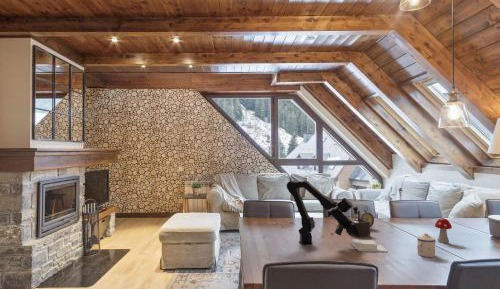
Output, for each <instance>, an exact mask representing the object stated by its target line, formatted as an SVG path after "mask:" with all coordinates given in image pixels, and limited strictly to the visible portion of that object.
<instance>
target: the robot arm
mask: <svg viewBox="0 0 500 289" xmlns="http://www.w3.org/2000/svg"><path fill="white" fill-rule="evenodd" d="M302 188H304V189H305V190H306V191H307V192H308V193H309V194H310V195H311V196H313V197H314V198H315V199H316V200H318V203H320V205H321V207H322V208H323V209H324V210H327V218H329V217H330V216H331V217H332V218H334V220H335V221H336V222H337V223H338V224H337V226H336V228H335V230H334V234H337V236H342V233H343V231H344V230H345V232H346V233H347V234H348V235H349V234H350V233H353V234H354V235H356V236H357V237H356V238H361V237H360V235H359V233H358V230H357V226H356V225H355V224H354V223H352V221H351V220H352V219H350V218H348V216H346V215H345V214H344V213H347V212H348V211H349V210H351V209H353V207H354V205H353V203H352V202H351V201H350V200H349V199H347V198H346V197H343V198H342V200H341V201H339V202H338V201H334V200H333V199H332V198H330V197H328V196H326V195H324V194H323V193H322V192H321V191H319V189H317V188H316V187H315V186H313V185H312V184H311V183H310V182H309V180H303V181H298V180H291V181H290V180H289V181H288V182H287V183H286V189H287V191H288V192H289V194H291V196H292V198H293V200H294V203H295V205H296V207H297V210H298V213H299V215H300V219H301V222H300V223H301V227H300V229H298V233H299V240H298V243H300V244H301V245H312V244H313V235H312V232H313V230H314V229H315V227H316V222H315V220H314V217H313V216H310V215H309V214H308V211H307V208H306V205H305V204H304V201H303V198H302V196H301V192H300V190H301V189H302ZM329 210H330V211H329Z"/></svg>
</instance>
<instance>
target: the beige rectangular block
mask: <svg viewBox="0 0 500 289" xmlns="http://www.w3.org/2000/svg"><path fill="white" fill-rule="evenodd" d="M351 242H352V243H351V244H352V246H353V248H354V249H355V250H357V249H369V250H377V245H378V244H377V242H376V241H374V239H352V240H351Z"/></svg>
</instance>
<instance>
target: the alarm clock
mask: <svg viewBox="0 0 500 289" xmlns="http://www.w3.org/2000/svg"><path fill="white" fill-rule="evenodd" d="M365 208H366V210H365ZM363 211H364V212H360V218H363V219H364V220H366V221H368V222H370V229H373V227H372V226H373V225H374V222H375V217H374V215H373V214H372V213H371V212H367V211H368V207H366V206H364V207H363Z"/></svg>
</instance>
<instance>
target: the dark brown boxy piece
mask: <svg viewBox="0 0 500 289" xmlns="http://www.w3.org/2000/svg"><path fill="white" fill-rule="evenodd" d="M352 211H353V213H352V215H355V216H356V215H357V216H358V217H357V218H355V219H350V220H351V221H352V223H354V224H355V225H356V226H357V230H358V233H359V235H360V237H359V238H366V237H371V227H370V222H368V221H366V220H364V219H363V218H360V214H361V211H360V210H359V207H358V206H353V207H352ZM348 235H350V236H353V237H354V238H355V237H356V238H358V237H357V236H356V235H354V234H353V233H350V234H348Z"/></svg>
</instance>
